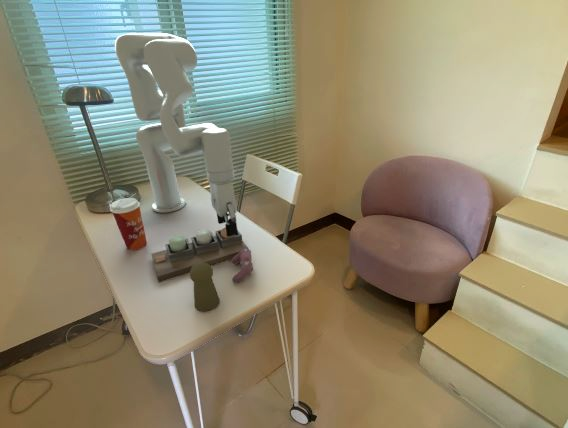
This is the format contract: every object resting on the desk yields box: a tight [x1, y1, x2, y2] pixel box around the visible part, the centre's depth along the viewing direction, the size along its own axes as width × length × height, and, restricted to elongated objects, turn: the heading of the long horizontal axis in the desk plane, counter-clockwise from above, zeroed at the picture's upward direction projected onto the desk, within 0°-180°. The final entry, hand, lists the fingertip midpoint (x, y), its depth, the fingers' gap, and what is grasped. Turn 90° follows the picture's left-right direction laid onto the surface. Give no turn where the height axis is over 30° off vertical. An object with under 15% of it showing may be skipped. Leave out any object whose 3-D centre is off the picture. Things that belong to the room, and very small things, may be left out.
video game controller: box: [230, 248, 254, 284], centre depth 86 cm, size 10×5×7 cm, turn 10°
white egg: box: [194, 228, 212, 245], centre depth 93 cm, size 4×4×3 cm
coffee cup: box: [109, 197, 148, 251], centre depth 97 cm, size 8×8×15 cm
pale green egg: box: [168, 235, 187, 253], centre depth 90 cm, size 4×4×3 cm
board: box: [150, 229, 250, 284], centre depth 93 cm, size 12×26×4 cm, turn 117°
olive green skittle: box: [189, 263, 221, 313], centre depth 74 cm, size 6×6×11 cm
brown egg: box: [220, 227, 236, 239], centre depth 97 cm, size 4×4×3 cm
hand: (227, 228), depth 96 cm, fingers open, 8 cm apart
